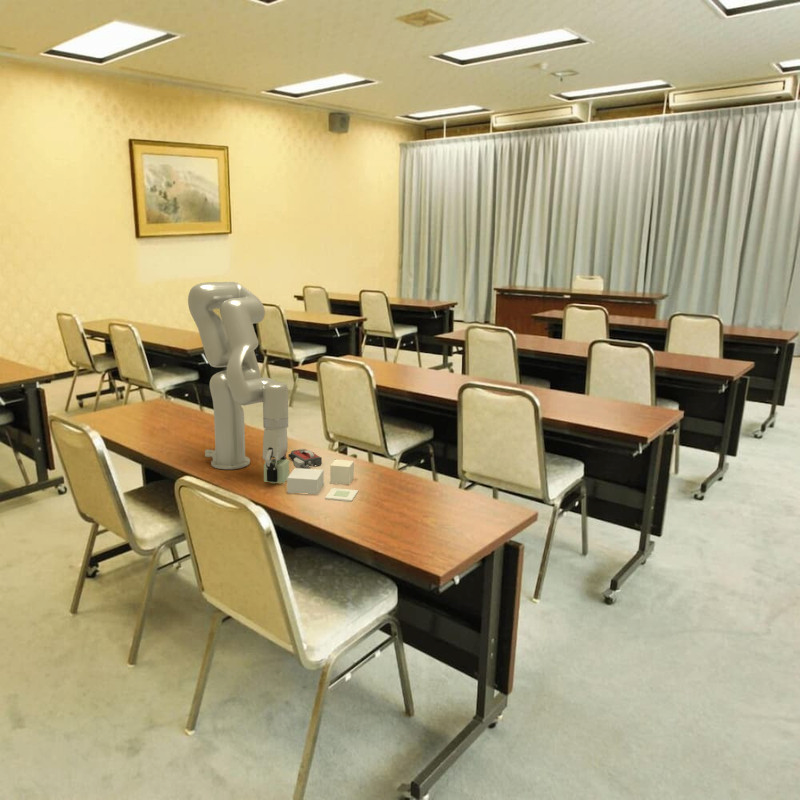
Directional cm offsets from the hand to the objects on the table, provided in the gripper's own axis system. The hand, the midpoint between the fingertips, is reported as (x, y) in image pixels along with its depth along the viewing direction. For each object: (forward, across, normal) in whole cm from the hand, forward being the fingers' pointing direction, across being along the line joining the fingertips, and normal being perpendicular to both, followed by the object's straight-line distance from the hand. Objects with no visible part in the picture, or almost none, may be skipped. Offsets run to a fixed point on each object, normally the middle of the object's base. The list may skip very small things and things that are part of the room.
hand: (276, 476), depth 204 cm
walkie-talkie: (+2, -16, +5) cm, 17 cm away
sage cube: (+1, 0, 0) cm, 1 cm away
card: (+1, +8, +23) cm, 24 cm away
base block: (+1, +5, +11) cm, 12 cm away
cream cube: (+1, -4, +20) cm, 20 cm away
